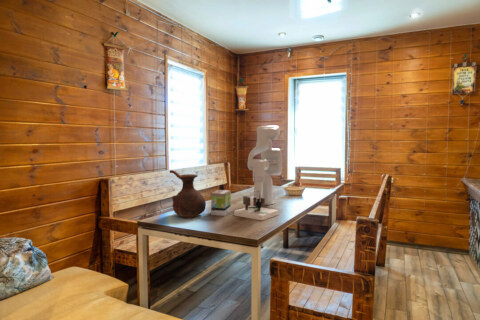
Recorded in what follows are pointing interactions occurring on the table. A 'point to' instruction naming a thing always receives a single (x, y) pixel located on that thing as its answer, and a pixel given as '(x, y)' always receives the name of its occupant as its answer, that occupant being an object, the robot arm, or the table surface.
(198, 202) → the jug
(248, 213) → the board
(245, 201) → the far peg
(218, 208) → the tea box
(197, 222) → the table surface
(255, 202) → the near peg
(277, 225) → the table surface
